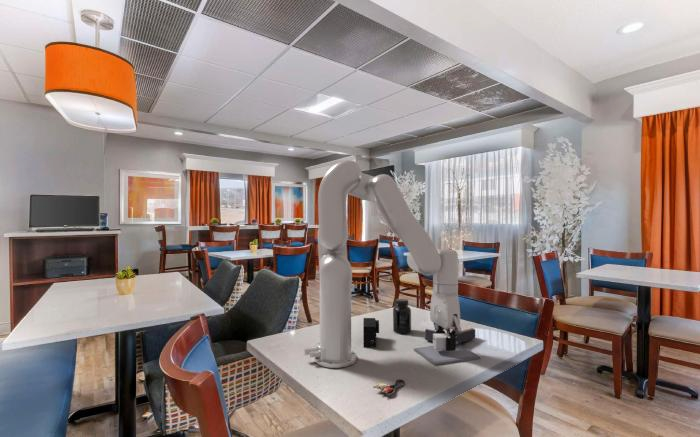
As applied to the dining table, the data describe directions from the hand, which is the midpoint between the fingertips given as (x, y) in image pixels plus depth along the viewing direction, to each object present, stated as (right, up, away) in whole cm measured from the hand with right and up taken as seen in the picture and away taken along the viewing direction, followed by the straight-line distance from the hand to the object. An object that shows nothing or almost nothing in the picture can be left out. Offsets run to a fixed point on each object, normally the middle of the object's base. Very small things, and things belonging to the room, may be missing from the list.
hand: (445, 346), depth 102 cm
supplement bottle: (-10, -3, +22) cm, 24 cm away
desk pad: (0, -2, 0) cm, 2 cm away
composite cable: (-19, -3, -22) cm, 29 cm away
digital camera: (-22, -3, +11) cm, 25 cm away
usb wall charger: (0, -1, 0) cm, 1 cm away
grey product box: (+5, -2, +12) cm, 14 cm away
